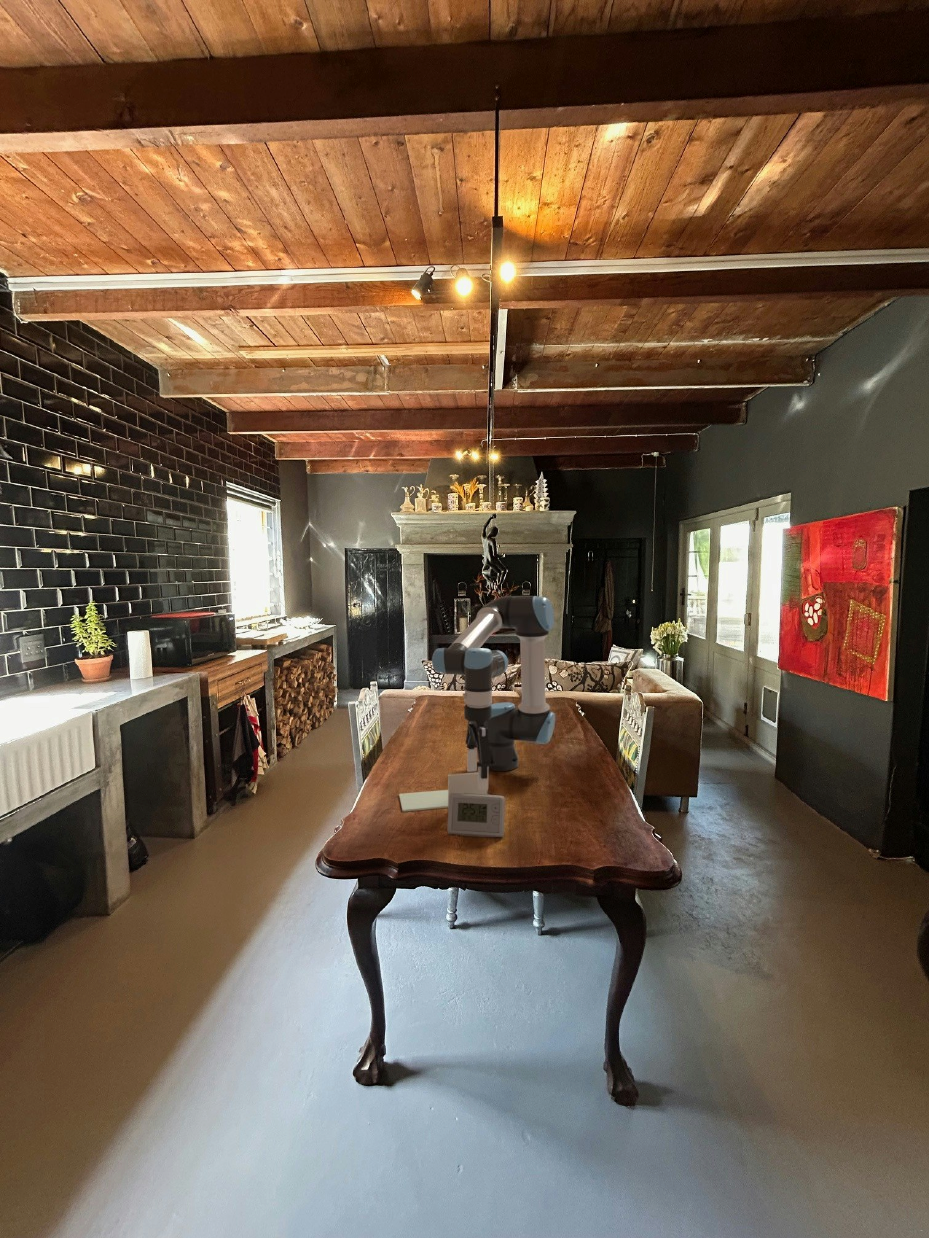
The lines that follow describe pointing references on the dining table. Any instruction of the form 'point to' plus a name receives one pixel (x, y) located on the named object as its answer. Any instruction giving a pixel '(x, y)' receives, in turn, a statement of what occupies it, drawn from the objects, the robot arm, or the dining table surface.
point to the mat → (424, 800)
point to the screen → (464, 784)
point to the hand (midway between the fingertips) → (477, 779)
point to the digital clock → (476, 815)
